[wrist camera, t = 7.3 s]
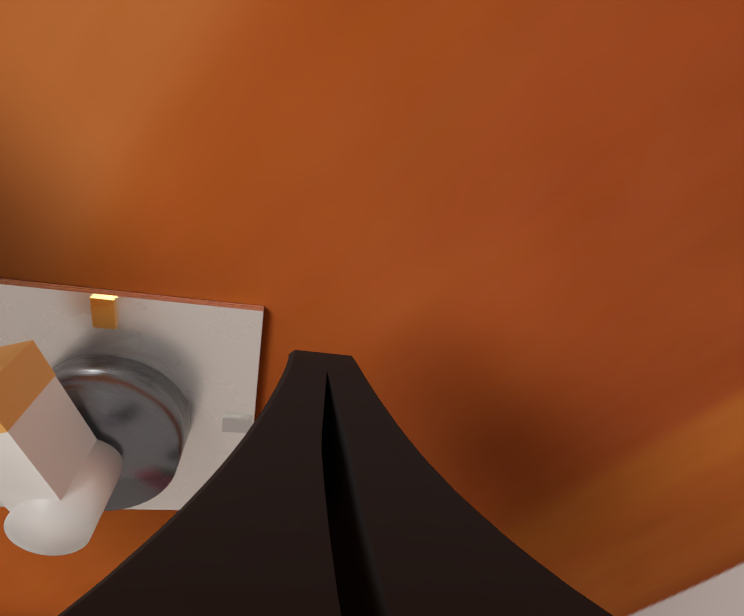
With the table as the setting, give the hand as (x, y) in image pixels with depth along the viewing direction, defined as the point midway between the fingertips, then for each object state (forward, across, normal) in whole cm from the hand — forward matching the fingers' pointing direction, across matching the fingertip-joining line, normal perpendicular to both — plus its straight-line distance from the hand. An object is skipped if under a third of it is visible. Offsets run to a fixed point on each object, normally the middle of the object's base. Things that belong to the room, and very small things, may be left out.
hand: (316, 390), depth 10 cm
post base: (+10, +8, +10) cm, 17 cm away
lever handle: (+7, +9, +8) cm, 14 cm away
